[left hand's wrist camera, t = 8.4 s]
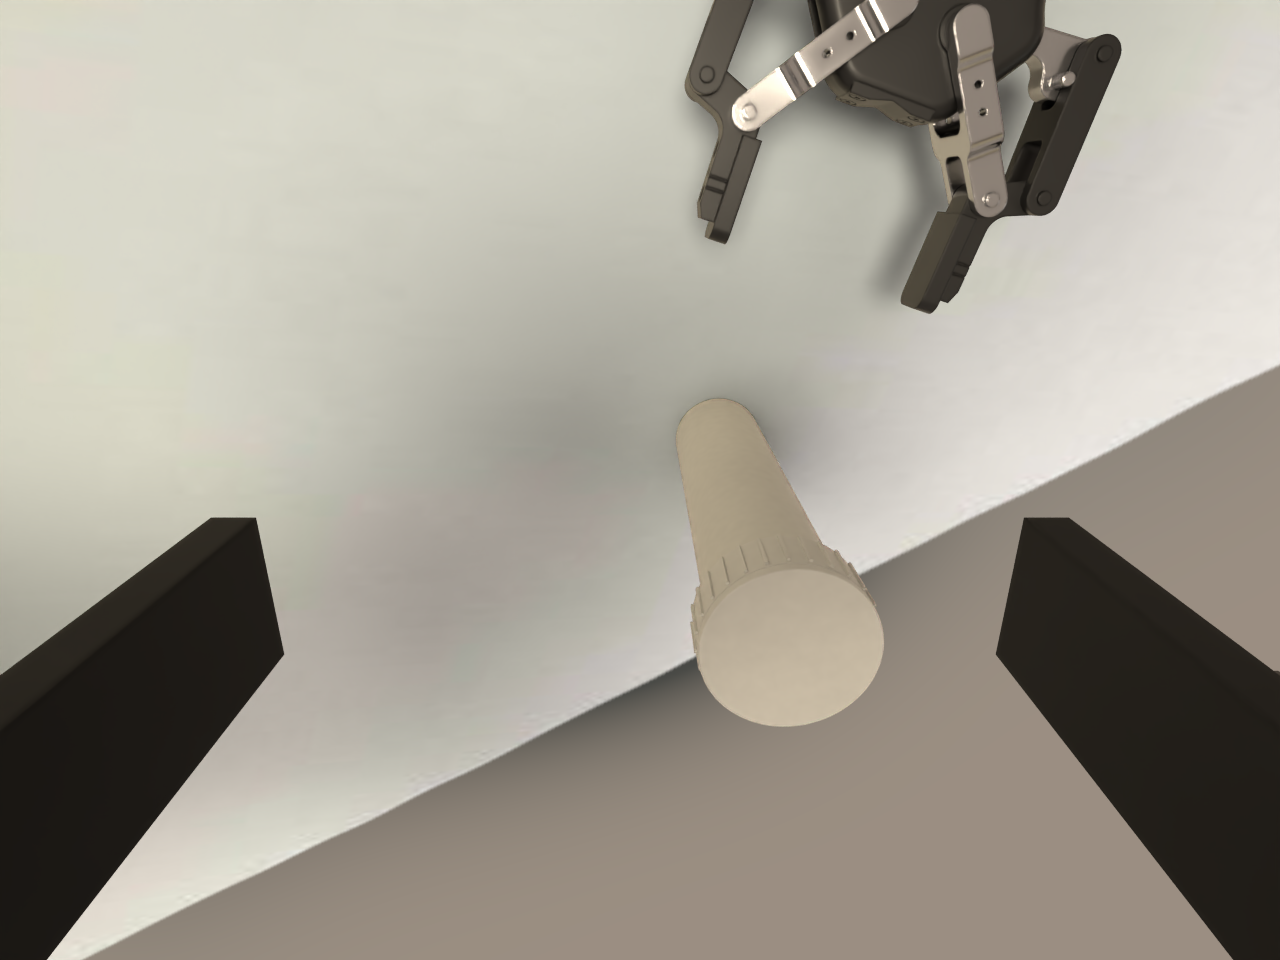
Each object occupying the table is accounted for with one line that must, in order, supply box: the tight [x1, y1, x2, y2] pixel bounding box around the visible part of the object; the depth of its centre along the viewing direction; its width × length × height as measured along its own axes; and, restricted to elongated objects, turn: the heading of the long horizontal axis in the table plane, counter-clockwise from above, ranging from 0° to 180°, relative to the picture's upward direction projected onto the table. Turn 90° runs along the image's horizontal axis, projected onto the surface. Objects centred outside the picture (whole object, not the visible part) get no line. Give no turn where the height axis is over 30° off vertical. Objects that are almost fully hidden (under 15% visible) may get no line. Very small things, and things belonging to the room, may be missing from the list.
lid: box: [690, 535, 884, 727], centre depth 21 cm, size 5×5×2 cm
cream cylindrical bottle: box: [676, 399, 821, 584], centre depth 29 cm, size 4×4×19 cm
